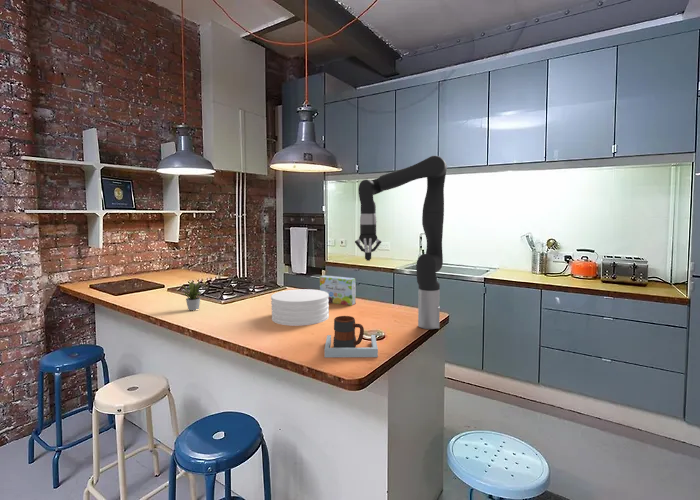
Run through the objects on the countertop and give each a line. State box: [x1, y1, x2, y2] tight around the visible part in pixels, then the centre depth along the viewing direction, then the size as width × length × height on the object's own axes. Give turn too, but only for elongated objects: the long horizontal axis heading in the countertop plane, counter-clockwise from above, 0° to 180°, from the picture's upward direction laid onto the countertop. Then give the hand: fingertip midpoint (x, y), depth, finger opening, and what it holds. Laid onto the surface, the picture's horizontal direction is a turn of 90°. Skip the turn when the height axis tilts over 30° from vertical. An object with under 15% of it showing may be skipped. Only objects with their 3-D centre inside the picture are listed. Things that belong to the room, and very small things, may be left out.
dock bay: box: [324, 334, 379, 358], centre depth 142 cm, size 19×16×3 cm
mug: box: [333, 315, 365, 348], centre depth 142 cm, size 9×12×12 cm
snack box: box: [319, 274, 357, 307], centre depth 215 cm, size 21×6×15 cm, turn 62°
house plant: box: [179, 280, 206, 311], centre depth 201 cm, size 14×14×16 cm
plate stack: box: [270, 288, 330, 327], centre depth 186 cm, size 28×28×12 cm
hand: (368, 260), depth 177 cm, fingers closed
